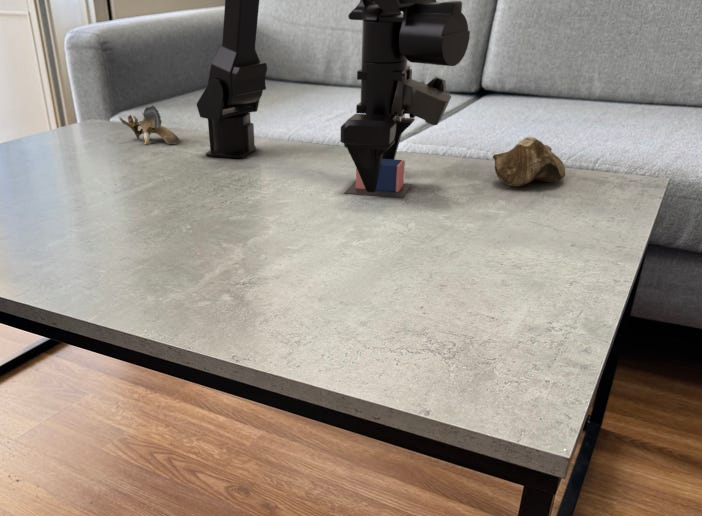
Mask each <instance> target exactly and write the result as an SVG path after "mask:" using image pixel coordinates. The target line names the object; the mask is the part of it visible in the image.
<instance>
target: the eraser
mask: <svg viewBox="0 0 702 516" xmlns="http://www.w3.org/2000/svg"><path fill="white" fill-rule="evenodd" d="M405 163H406V160H404V159H396V158H395V159H382V162H381V167H380V172H379V177H378V182H377V186H376V190H378V191H391V192H399V191H400V189H401V188H402V186H403V184H404V182H405V181H404V180H405V165H406V164H405ZM355 180H356V189H365V186H364V184H363V182H362V179H361V177H360V175H359V172H358V170H357V168H356V167H355Z"/></svg>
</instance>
